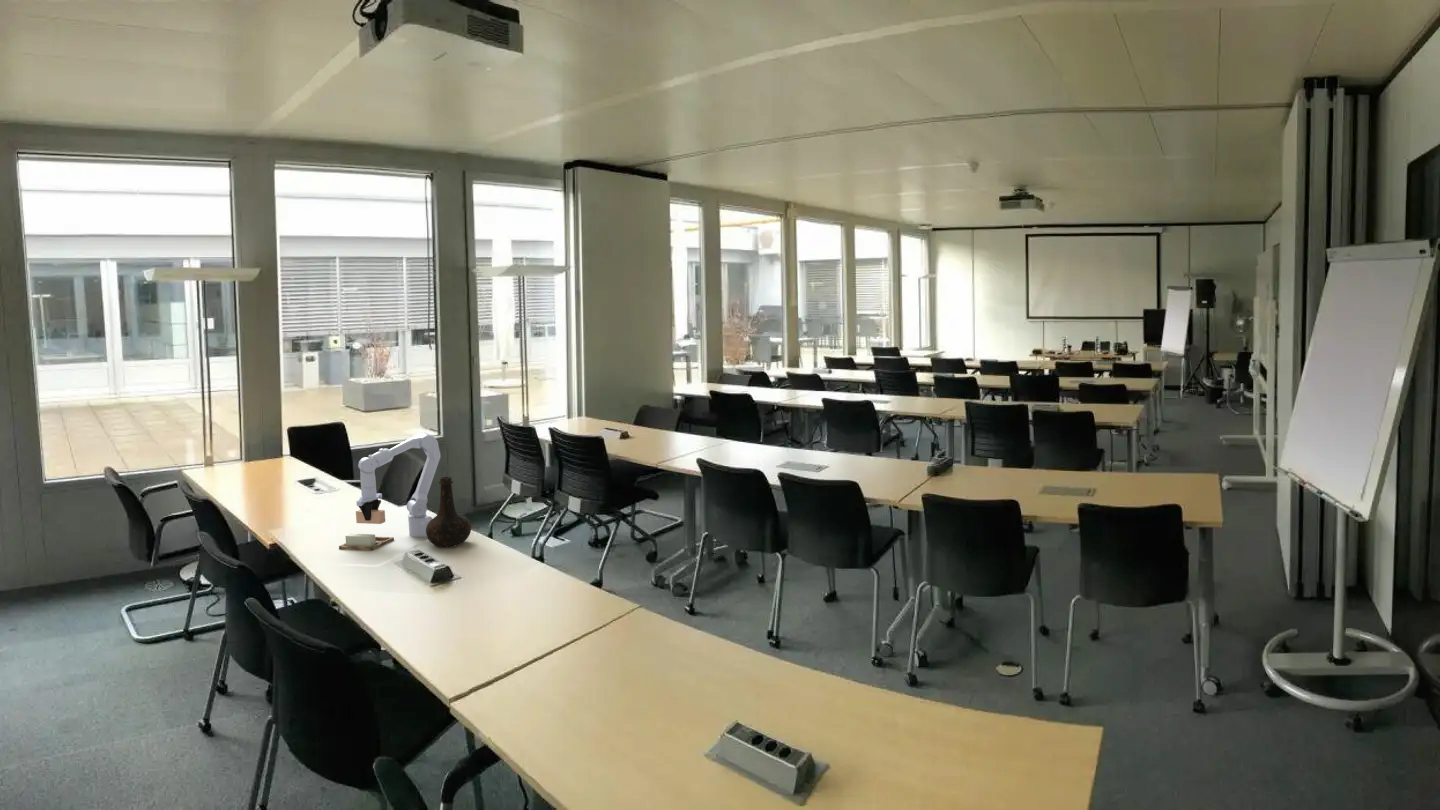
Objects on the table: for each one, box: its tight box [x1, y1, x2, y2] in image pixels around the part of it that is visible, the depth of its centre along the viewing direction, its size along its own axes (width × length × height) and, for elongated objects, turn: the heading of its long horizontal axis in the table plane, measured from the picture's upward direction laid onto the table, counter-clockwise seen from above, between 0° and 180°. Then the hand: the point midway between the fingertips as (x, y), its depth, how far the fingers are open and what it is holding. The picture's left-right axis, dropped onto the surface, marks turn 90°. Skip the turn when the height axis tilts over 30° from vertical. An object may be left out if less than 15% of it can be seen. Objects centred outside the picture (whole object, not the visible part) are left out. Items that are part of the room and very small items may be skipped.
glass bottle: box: [426, 476, 472, 548], centre depth 347 cm, size 18×18×28 cm
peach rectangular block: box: [355, 508, 386, 525], centre depth 352 cm, size 11×4×5 cm, turn 78°
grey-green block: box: [345, 533, 376, 547], centre depth 345 cm, size 11×4×5 cm, turn 78°
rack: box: [338, 536, 395, 551], centre depth 349 cm, size 15×15×2 cm
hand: (370, 519), depth 352 cm, fingers closed on peach rectangular block, 3 cm apart
